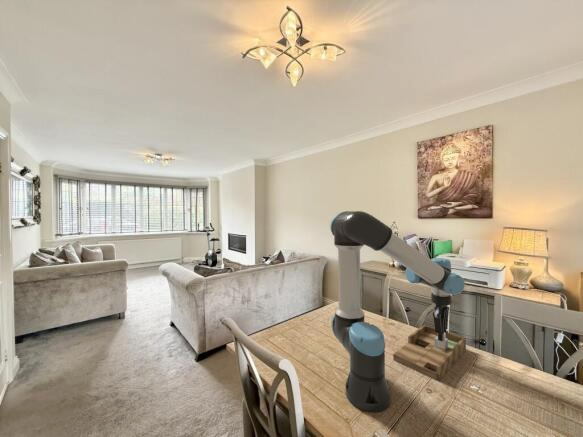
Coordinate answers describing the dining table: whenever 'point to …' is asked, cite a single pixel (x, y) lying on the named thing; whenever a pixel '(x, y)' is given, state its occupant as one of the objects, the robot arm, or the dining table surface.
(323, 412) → the dining table surface
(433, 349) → the box
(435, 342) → the block
